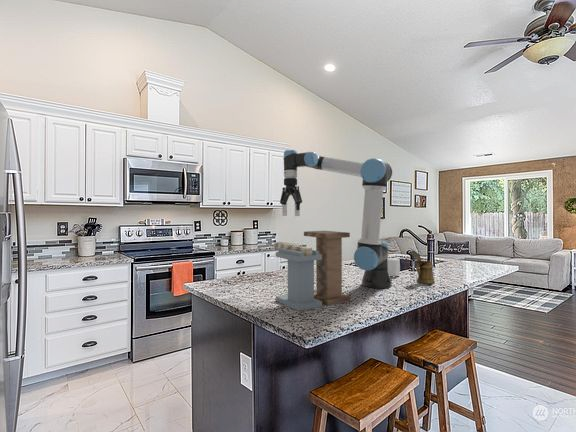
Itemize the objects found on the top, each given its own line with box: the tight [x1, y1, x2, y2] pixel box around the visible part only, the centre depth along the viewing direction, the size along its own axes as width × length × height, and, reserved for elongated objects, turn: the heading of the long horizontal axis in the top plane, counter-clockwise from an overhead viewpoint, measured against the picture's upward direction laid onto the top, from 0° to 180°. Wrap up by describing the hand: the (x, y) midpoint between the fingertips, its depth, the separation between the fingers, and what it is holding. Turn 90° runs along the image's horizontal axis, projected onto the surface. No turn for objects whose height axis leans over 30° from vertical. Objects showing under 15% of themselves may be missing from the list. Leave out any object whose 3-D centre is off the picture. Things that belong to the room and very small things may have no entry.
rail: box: [274, 242, 313, 256], centre depth 147 cm, size 26×3×3 cm, turn 31°
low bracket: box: [275, 248, 323, 312], centre depth 143 cm, size 18×12×23 cm, turn 31°
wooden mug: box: [410, 249, 436, 285], centre depth 184 cm, size 9×14×18 cm, turn 108°
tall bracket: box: [303, 230, 351, 306], centre depth 151 cm, size 18×12×30 cm, turn 31°
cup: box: [388, 257, 401, 277], centre depth 202 cm, size 8×12×10 cm
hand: (290, 216), depth 188 cm, fingers open, 13 cm apart
